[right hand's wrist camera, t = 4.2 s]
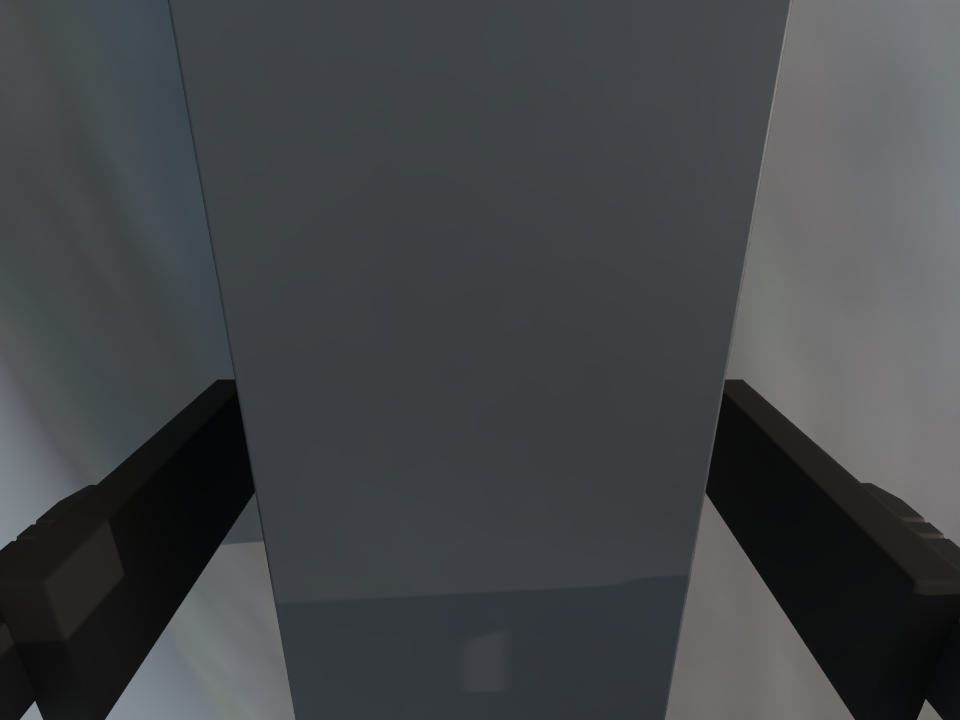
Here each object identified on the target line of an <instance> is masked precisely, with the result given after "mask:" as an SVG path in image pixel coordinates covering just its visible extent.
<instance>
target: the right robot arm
mask: <svg viewBox="0 0 960 720" xmlns="http://www.w3.org/2000/svg"><path fill="white" fill-rule="evenodd" d="M254 492H255V488H254V482H253V477H252V471H251V465H250V460H249V454H248V448H247V443H246V437H245V431H244V426H243V420H242V415H241V409H240V403H239V398H238V392H237V386H236V381H235V380H217V381H215V382H214V383H213V384H212V385H211V386H210V387H209V388H207V389H206V390H205V391H204V392H203V393H202V394H201V395H199V396H198V397H197V398H196V399H195V400H194V401H192V402H191V403H190V404H189V405H188V406H187V407H186V408H184V409H183V410H182V411H181V412H180V413H179V414H178V415H176V416H175V417H174V418H173V419H172V420H171V421H170V422H168V423H167V424H166V425H165V426H164V427H163V428H162V429H160V430H159V431H158V432H157V433H156V434H155V435H154V436H152V437H151V438H150V439H149V440H148V441H147V442H146V443H144V444H143V445H142V446H141V447H140V448H139V449H138V450H136V451H135V452H134V453H133V454H132V455H131V456H130V457H128V458H127V459H126V460H125V461H124V462H123V463H122V464H120V465H119V466H118V467H117V468H116V469H115V470H114V471H112V472H111V473H110V474H109V475H108V476H107V477H106V478H104V479H103V480H102V481H101V482H100V483H99V484H98V485H89V486H87V487H85V488H83V489H81V490H80V491H78V492H76V493H74V494H72V495H70V496H69V497H67V498H65V499H63V500H61V501H59V502H58V503H57V504H56V505H54V506H53V507H52V508H51V509H50V510H48V511H47V512H46V513H45V514H44V515H42V516H41V517H40V518H39V519H38V520H36V524H35V525H30V526H29V527H28V528H27V529H26V530H24V531H23V532H22V533H21V534H20V535H18V536H17V540H16V541H11V542H10V543H9V544H8V545H6V546H5V547H4V548H3V549H2V550H0V720H20V719H21V717H22V716H23V715H24V714H25V712H26V711H27V710H28V709H29V707H30V706H31V705H32V704H33V702H34V701H36V704H37V706H38V708H39V711H40V713H41V716H42V718H43V720H105V719H106V717H107V716H108V714H109V713H110V711H111V710H112V708H113V706H114V705H115V703H116V702H117V700H118V699H119V697H120V696H121V694H122V693H123V691H124V690H125V688H126V687H127V685H128V684H129V682H130V681H131V679H132V678H133V676H134V675H135V673H136V672H137V670H138V669H139V667H140V665H141V664H142V662H143V661H144V659H145V658H146V656H147V655H148V653H149V652H150V650H151V649H152V647H153V646H154V644H155V643H156V641H157V640H158V638H159V637H160V635H161V634H162V632H163V631H164V629H165V628H166V626H167V625H168V623H169V622H170V620H171V618H172V617H173V615H174V614H175V612H176V611H177V609H178V608H179V606H180V605H181V603H182V602H183V600H184V599H185V597H186V596H187V594H188V593H189V591H190V590H191V588H192V587H193V585H194V584H195V582H196V581H197V579H198V577H199V576H200V574H201V573H202V571H203V570H204V568H205V567H206V565H207V564H208V562H209V561H210V559H211V558H212V556H213V555H214V553H215V552H216V550H217V549H218V547H219V546H220V544H221V543H222V541H223V540H224V538H225V536H226V535H227V533H228V532H229V530H230V529H231V527H232V526H233V524H234V523H235V521H236V520H237V518H238V517H239V515H240V514H241V512H242V511H243V509H244V508H245V506H246V505H247V503H248V502H249V500H250V499H251V497H252V495H253V494H254ZM705 492H706V494H707V496H708V497H709V499H710V500H711V502H712V503H713V505H714V506H715V508H716V509H717V511H718V512H719V514H720V515H721V517H722V518H723V520H724V521H725V523H726V524H727V526H728V527H729V529H730V530H731V532H732V533H733V535H734V536H735V538H736V540H737V541H738V543H739V544H740V546H741V547H742V549H743V550H744V552H745V553H746V555H747V556H748V558H749V559H750V561H751V562H752V564H753V565H754V567H755V568H756V570H757V571H758V573H759V574H760V576H761V577H762V579H763V581H764V582H765V584H766V585H767V587H768V588H769V590H770V591H771V593H772V594H773V596H774V597H775V599H776V600H777V602H778V603H779V605H780V606H781V608H782V609H783V611H784V612H785V614H786V615H787V617H788V618H789V620H790V622H791V623H792V625H793V626H794V628H795V629H796V631H797V632H798V634H799V635H800V637H801V638H802V640H803V641H804V643H805V644H806V646H807V647H808V649H809V650H810V652H811V653H812V655H813V656H814V658H815V659H816V661H817V663H818V664H819V666H820V667H821V669H822V670H823V672H824V673H825V675H826V676H827V678H828V679H829V681H830V682H831V684H832V685H833V687H834V688H835V690H836V691H837V693H838V694H839V696H840V697H841V699H842V700H843V702H844V704H845V705H846V707H847V708H848V710H849V711H850V713H851V714H852V716H853V717H854V719H855V720H917V718H918V715H919V713H920V711H921V708H922V706H923V704H924V701H925V699H927V701H928V702H929V703H930V704H931V706H932V707H933V708H934V709H935V711H936V712H937V713H938V714H939V715H940V717H941V718H942V719H943V720H960V548H959V547H958V546H957V545H956V544H954V543H953V542H952V541H951V540H950V539H945V538H944V534H942V533H941V532H940V531H939V530H938V529H936V528H935V527H934V526H933V525H931V524H930V523H925V521H924V518H923V517H922V516H921V515H919V514H918V513H917V512H916V511H915V510H913V509H912V508H911V507H910V506H909V505H907V504H906V503H905V502H904V501H903V500H901V499H899V498H898V497H896V496H894V495H892V494H890V493H888V492H886V491H885V490H883V489H881V488H879V487H877V486H875V485H873V484H871V483H860V482H859V481H858V480H857V479H856V478H854V477H853V476H852V475H851V474H850V473H849V472H848V471H846V470H845V469H844V468H843V467H842V466H841V465H840V464H838V463H837V462H836V461H835V460H834V459H833V458H832V457H830V456H829V455H828V454H827V453H826V452H825V451H824V450H822V449H821V448H820V447H819V446H818V445H817V444H816V443H814V442H813V441H812V440H811V439H810V438H809V437H808V436H806V435H805V434H804V433H803V432H802V431H801V430H800V429H798V428H797V427H796V426H795V425H794V424H793V423H791V422H790V421H789V420H788V419H787V418H786V417H785V416H783V415H782V414H781V413H780V412H779V411H778V410H777V409H775V408H774V407H773V406H772V405H771V404H770V403H769V402H767V401H766V400H765V399H764V398H763V397H762V396H761V395H759V394H758V393H757V392H756V391H755V390H754V389H753V388H751V387H750V386H749V385H748V384H747V383H746V382H745V381H743V380H725V384H724V389H723V395H722V400H721V406H720V412H719V417H718V423H717V429H716V434H715V440H714V445H713V451H712V457H711V462H710V468H709V474H708V479H707V485H706V490H705Z"/></svg>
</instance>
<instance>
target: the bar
mask: <svg viewBox="0 0 960 720" xmlns="http://www.w3.org/2000/svg"><path fill="white" fill-rule="evenodd" d="M792 1H793V0H168V4H169V9H170V15H171V21H172V26H173V32H174V37H175V43H176V49H177V54H178V60H179V66H180V71H181V77H182V82H183V88H184V94H185V99H186V105H187V111H188V116H189V122H190V128H191V133H192V139H193V144H194V150H195V156H196V161H197V167H198V173H199V178H200V184H201V189H202V195H203V201H204V206H205V212H206V218H207V223H208V229H209V234H210V240H211V246H212V251H213V257H214V263H215V268H216V274H217V279H218V285H219V291H220V296H221V302H222V308H223V313H224V319H225V325H226V330H227V336H228V341H229V347H230V353H231V358H232V364H233V370H234V375H235V381H236V386H237V392H238V398H239V403H240V409H241V415H242V420H243V426H244V431H245V437H246V443H247V448H248V454H249V460H250V465H251V471H252V477H253V482H254V488H255V493H256V499H257V505H258V510H259V516H260V522H261V527H262V533H263V538H264V544H265V550H266V555H267V561H268V567H269V572H270V578H271V583H272V589H273V595H274V600H275V606H276V612H277V617H278V623H279V628H280V634H281V640H282V645H283V651H284V657H285V662H286V668H287V674H288V679H289V685H290V690H291V696H292V702H293V707H294V713H295V719H296V720H665V715H666V710H667V704H668V698H669V693H670V687H671V681H672V676H673V670H674V665H675V659H676V653H677V648H678V642H679V637H680V631H681V625H682V620H683V614H684V608H685V603H686V597H687V592H688V586H689V580H690V575H691V569H692V563H693V558H694V552H695V547H696V541H697V535H698V530H699V524H700V518H701V513H702V507H703V502H704V496H705V490H706V485H707V479H708V474H709V468H710V462H711V457H712V451H713V445H714V440H715V434H716V429H717V423H718V417H719V412H720V406H721V400H722V395H723V389H724V384H725V378H726V372H727V367H728V361H729V356H730V350H731V344H732V339H733V333H734V327H735V322H736V316H737V311H738V305H739V299H740V294H741V288H742V282H743V277H744V271H745V266H746V260H747V254H748V249H749V243H750V237H751V232H752V226H753V221H754V215H755V209H756V204H757V198H758V193H759V187H760V181H761V176H762V170H763V164H764V159H765V153H766V148H767V142H768V136H769V131H770V125H771V119H772V114H773V108H774V103H775V97H776V91H777V86H778V80H779V75H780V69H781V63H782V58H783V52H784V46H785V41H786V35H787V30H788V24H789V18H790V13H791V7H792Z"/></svg>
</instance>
